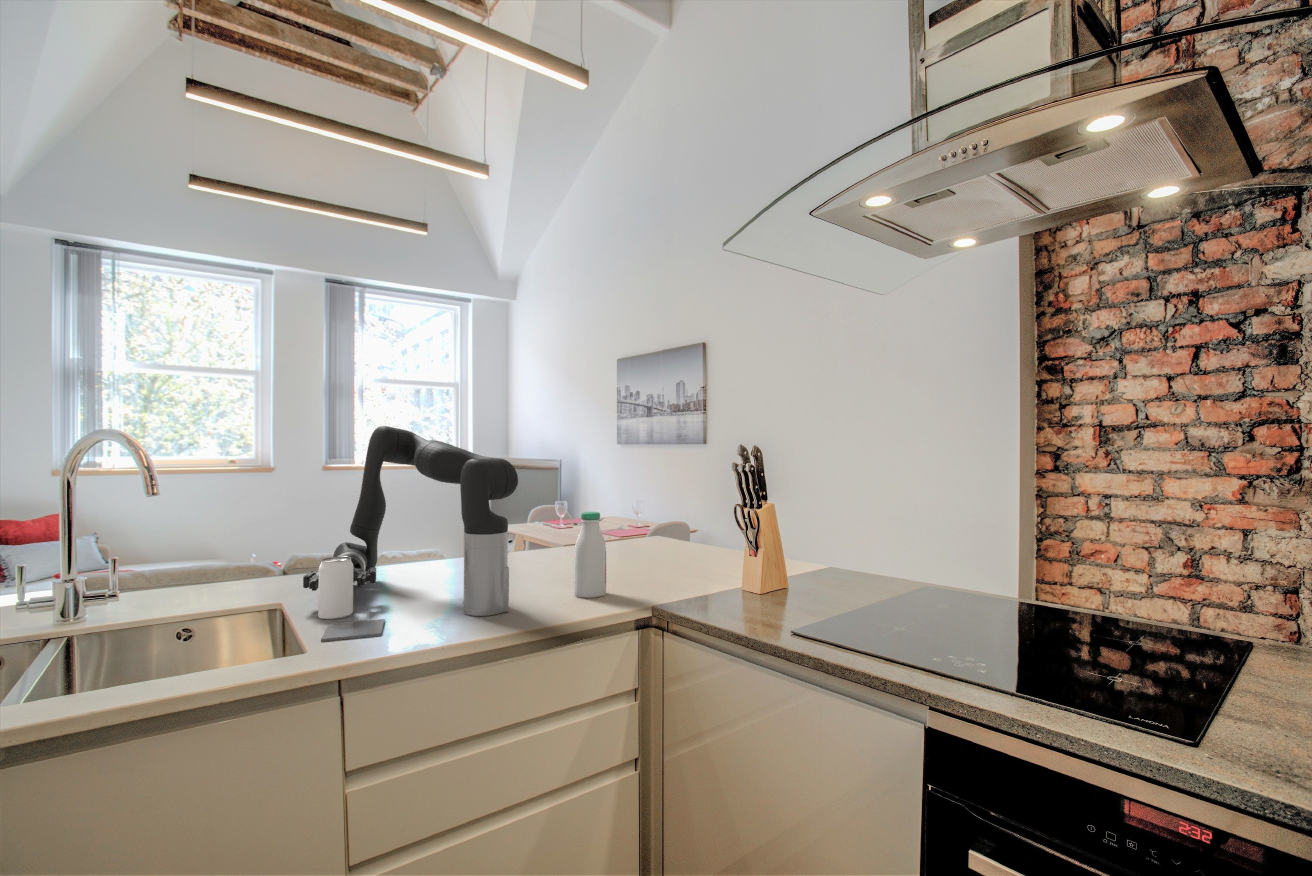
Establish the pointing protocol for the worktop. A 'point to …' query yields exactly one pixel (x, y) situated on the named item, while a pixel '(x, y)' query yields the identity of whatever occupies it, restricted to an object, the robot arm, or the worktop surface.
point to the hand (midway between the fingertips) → (336, 584)
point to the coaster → (353, 630)
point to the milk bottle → (590, 558)
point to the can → (335, 588)
